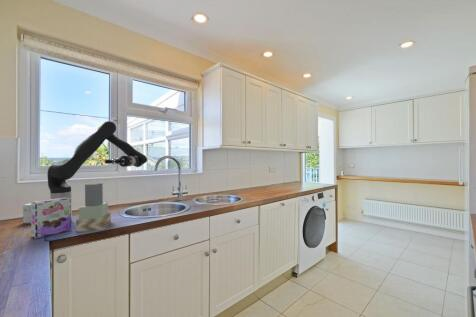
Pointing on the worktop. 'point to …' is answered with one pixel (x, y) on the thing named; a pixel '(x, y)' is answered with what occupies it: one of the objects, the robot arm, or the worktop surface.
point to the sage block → (93, 211)
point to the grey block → (93, 194)
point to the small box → (27, 213)
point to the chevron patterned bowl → (93, 223)
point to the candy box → (50, 217)
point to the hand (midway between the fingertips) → (111, 161)
